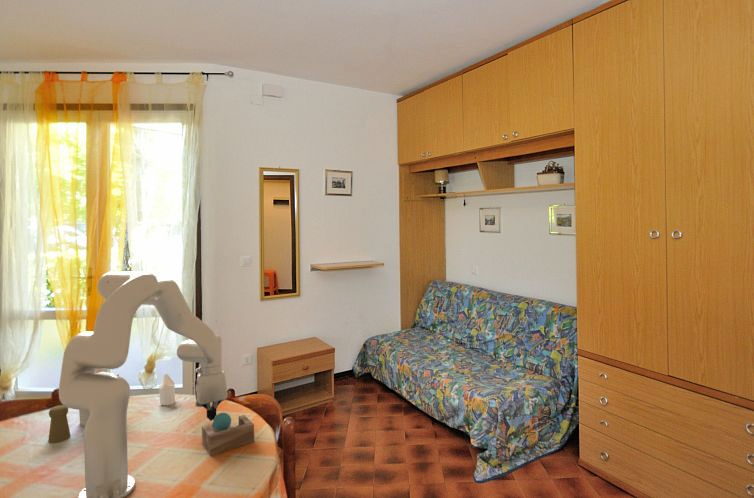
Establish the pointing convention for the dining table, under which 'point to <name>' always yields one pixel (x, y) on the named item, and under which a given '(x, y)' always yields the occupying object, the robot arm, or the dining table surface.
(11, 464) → the dining table surface
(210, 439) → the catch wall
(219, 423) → the ball
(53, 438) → the cork
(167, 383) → the white pointed block
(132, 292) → the robot arm
